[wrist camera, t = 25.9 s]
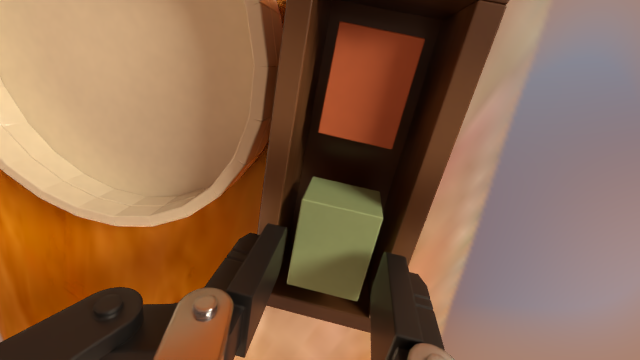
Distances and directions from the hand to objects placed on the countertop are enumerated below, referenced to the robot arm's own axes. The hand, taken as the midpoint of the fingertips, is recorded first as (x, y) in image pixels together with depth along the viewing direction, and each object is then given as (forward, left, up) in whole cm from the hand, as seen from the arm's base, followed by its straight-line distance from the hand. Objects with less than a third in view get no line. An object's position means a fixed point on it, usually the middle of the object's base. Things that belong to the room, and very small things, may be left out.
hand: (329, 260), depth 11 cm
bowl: (-5, -12, -6) cm, 14 cm away
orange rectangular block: (-6, 0, -5) cm, 8 cm away
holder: (-3, 0, -6) cm, 6 cm away
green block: (0, 0, -3) cm, 3 cm away
